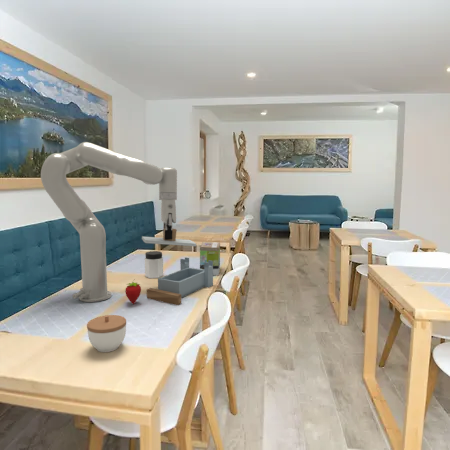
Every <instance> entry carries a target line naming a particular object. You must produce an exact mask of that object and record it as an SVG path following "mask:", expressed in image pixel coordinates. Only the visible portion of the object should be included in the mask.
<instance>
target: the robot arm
mask: <svg viewBox="0 0 450 450" xmlns="http://www.w3.org/2000/svg"><path fill="white" fill-rule="evenodd" d="M87 166H90V167H93V168H96V169H99V170H101V171H106V172H108V173H111V174H113V175H117V176H124V177H128V178H131V179H134V180H135V179H136V180H138V181H141V182H142V183H143V184H146V185H151V186H153V185H157V184H158V200H159V201H161V202H160V203H161V204H160V205H161V208H160V209H161V210H160V211H161V212H160V213H161V215H160V216H161V222H162V223H163V227H162V228H163V229H162V234H163V233H164V228H166V230H165V240H169V239H172V229H173V224H175V223H177V210H176V208H177V206H176V201H178V200H177V197H178V195H177V194H178V182H177V181H178V171H177V169H176V168H175V167H158V166H156V165H154V164H151V163H148V162H145V161H143V160H140V159H137V158H134V157H131V156H128V155H127V154H126V155H125V154H123V153H119V152H116V151H114V150H111V149H108V148H106V147H103V146H101V145H98V144H95V143H92V142H90V141H89V142H88V141H83V142H81V143H79V144H78V145H77V146H74V147H73V148H70V149H67V150H65V151H62V152H55V153H52V154H49V155H48V156H47V157H46V158H45V159H44V162H43V164H42V166H41V170H40V180H41V183H42V186H43V188H44V190H45V192H46V193H47V195H49V197H50V198H51V199H52V201H53V203H54V204H55V205H56V207H57V208H58V209H59V210H60V212H61V214H62V215H63V217H64V218H65V219H66V220H67V221H68V222H69V223H70V224H71V225H72V227H73V228H74V229H75V230H76V231H77V233H78V235H79V245H80V247H79V250H80V262H81V263H80V266H81V284H82V287H81V288H80V291H79V292H75V293H73V294H72V298H73V299H74V300H75V299H78V300H79V301H80V302H85V303H95V302H102V301H106V300H108V299H110V298H111V297H112V292H111V291H110V290H108V278H107V277H108V276H107V275H108V274H107V273H108V272H107V255H106V254H107V251H106V248H107V244H106V242H107V241H106V240H107V236H106V235H107V234H106V230H105V227H104V225H103V224H102V223H101V221H99V219H98V218H97V217H96V215H95V214H94V213H93V212H92V210H91V209H90V208H89V206H88V204H87V203H86V202H85V201H84V200H83V199H81V197H80V196H79V195H78V194H77V192H76V191H75V190H74V188H73V186H72V185H71V183H69V181H68V178H67V174H70V173H72V172H75V171H78V170H80V169H82V168H85V167H87Z"/></svg>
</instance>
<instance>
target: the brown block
mask: <svg viewBox="0 0 450 450" xmlns="http://www.w3.org/2000/svg"><path fill="white" fill-rule="evenodd" d="M146 299H149V300H153V301H156V302H157V301H158V302H161V303H165V304H170V305H175V306H179V305H181V304H182V298H181V294H177V293H173V292H168V291H163V290H158V288H155V287H154V288H153V287H149V288H147V289H146Z"/></svg>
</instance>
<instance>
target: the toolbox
mask: <svg viewBox="0 0 450 450" xmlns="http://www.w3.org/2000/svg"><path fill="white" fill-rule="evenodd" d="M179 260H180V270H177V271H174V272H173V273H169V274H166V275H163V276H162V277H160V278H157V289H158V290H163V291H168V292H173V293H177V294H181V299H182V298H185V297H187V296H189V295H191V294H193V293H195V292H197V291H199V290H201V289H203V288H210V287H212V286H214V275H213V261H210V260H209V261H208V262H204V270H202V269H200V268H194V267H190V257H184V258H180V259H179Z"/></svg>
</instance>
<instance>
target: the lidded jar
mask: <svg viewBox="0 0 450 450" xmlns="http://www.w3.org/2000/svg"><path fill="white" fill-rule="evenodd" d="M86 328H87V329H86V330H87V335H88V336H87V337H88V340H89V342H90V344H91V346H92V347H93V348H94V349H96V350H97V352H100V353H110V352H114V351H115V350H117V349H118V348H119V347H120V345H122V343H123V342H124V340H125V337H126V331H127V319H126V318H125V317H124V316H122V315H118V314H105V315H101V316H97V317H94V318H93V319H92V318H91V320H89V321H88V322H87V323H86Z"/></svg>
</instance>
